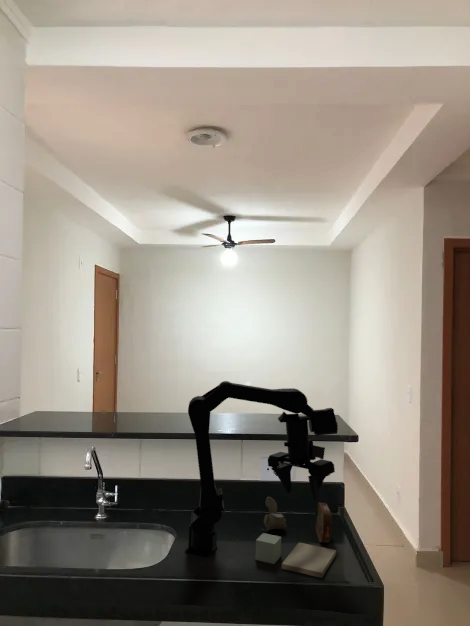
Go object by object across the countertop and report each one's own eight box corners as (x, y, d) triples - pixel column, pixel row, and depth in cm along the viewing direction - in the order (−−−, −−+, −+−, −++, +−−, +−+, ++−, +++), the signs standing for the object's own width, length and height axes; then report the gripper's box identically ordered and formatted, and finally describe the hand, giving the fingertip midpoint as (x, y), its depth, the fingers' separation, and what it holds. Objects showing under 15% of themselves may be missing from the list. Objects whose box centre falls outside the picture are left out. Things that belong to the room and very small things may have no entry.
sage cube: (255, 559, 135) (256, 540, 135) (262, 552, 139) (263, 533, 139) (274, 564, 133) (274, 544, 133) (280, 556, 137) (281, 536, 137)
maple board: (281, 568, 130) (281, 563, 130) (298, 546, 143) (298, 542, 143) (321, 577, 126) (322, 572, 126) (335, 554, 139) (336, 550, 139)
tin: (314, 526, 158) (315, 497, 158) (325, 526, 158) (326, 498, 158) (320, 548, 143) (321, 516, 143) (332, 548, 143) (333, 516, 143)
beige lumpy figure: (284, 531, 149) (268, 496, 152) (265, 539, 151) (250, 505, 154) (294, 523, 157) (279, 490, 160) (275, 531, 159) (261, 498, 162)
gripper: (345, 435, 140) (349, 494, 140) (291, 427, 153) (295, 481, 153) (318, 444, 132) (323, 507, 132) (264, 435, 146) (268, 492, 146)
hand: (302, 496), depth 141 cm, fingers open, 9 cm apart
